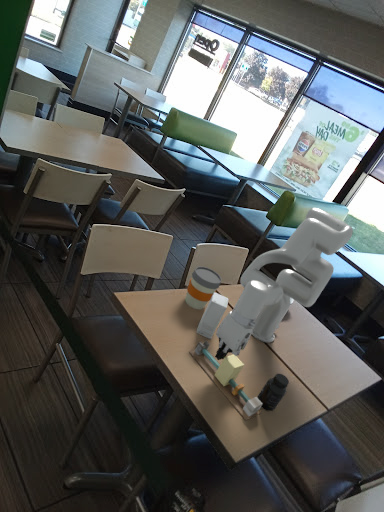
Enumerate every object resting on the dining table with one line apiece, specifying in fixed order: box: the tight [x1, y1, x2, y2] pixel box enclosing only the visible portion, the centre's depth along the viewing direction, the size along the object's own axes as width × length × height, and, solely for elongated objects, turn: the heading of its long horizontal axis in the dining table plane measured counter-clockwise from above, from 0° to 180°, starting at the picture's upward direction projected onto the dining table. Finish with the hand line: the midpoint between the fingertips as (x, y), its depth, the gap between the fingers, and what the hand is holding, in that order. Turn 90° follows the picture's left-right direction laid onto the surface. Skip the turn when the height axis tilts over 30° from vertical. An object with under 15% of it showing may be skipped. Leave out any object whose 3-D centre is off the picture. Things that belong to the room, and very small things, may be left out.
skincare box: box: [196, 292, 229, 340], centre depth 149 cm, size 8×7×16 cm
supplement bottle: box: [256, 372, 290, 412], centre depth 128 cm, size 7×7×12 cm
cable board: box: [188, 340, 262, 421], centre depth 131 cm, size 8×30×5 cm, turn 40°
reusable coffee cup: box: [184, 265, 223, 310], centre depth 164 cm, size 13×13×15 cm
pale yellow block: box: [215, 354, 245, 386], centre depth 130 cm, size 5×5×8 cm
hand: (219, 357), depth 131 cm, fingers closed
